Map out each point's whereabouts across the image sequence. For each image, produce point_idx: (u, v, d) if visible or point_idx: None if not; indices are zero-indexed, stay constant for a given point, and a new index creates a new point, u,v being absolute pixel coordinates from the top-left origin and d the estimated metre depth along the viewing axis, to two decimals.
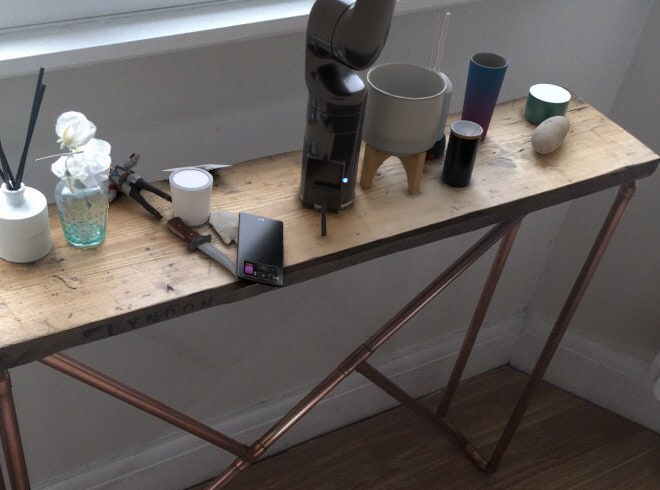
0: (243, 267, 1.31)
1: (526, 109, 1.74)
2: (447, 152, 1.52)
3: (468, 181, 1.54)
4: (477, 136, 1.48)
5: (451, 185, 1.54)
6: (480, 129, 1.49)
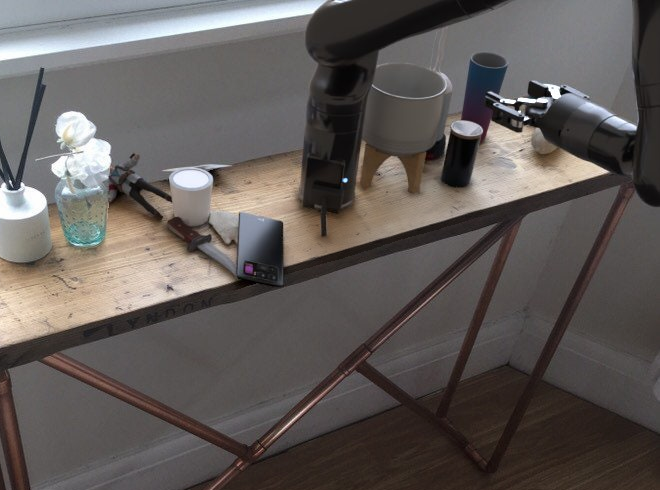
0: (243, 267, 1.31)
1: None
2: (447, 152, 1.52)
3: (468, 181, 1.54)
4: (477, 136, 1.48)
5: (451, 185, 1.54)
6: (480, 129, 1.49)
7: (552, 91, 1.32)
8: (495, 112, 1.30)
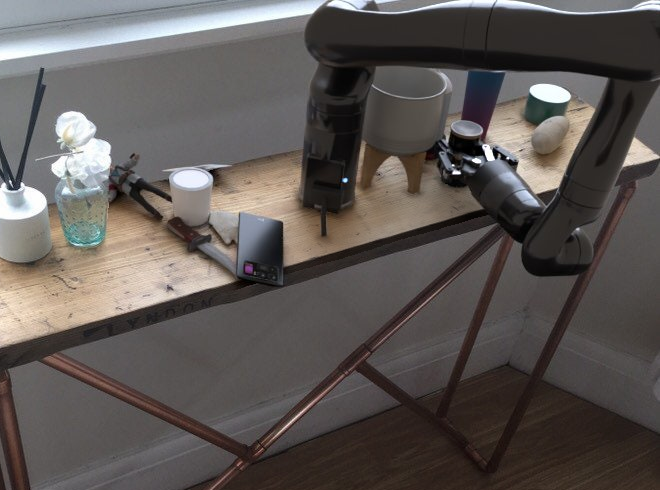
0: (243, 267, 1.31)
1: (526, 109, 1.74)
2: None
3: None
4: (477, 136, 1.48)
5: (451, 185, 1.54)
6: (480, 129, 1.49)
7: (486, 151, 1.48)
8: (439, 160, 1.48)
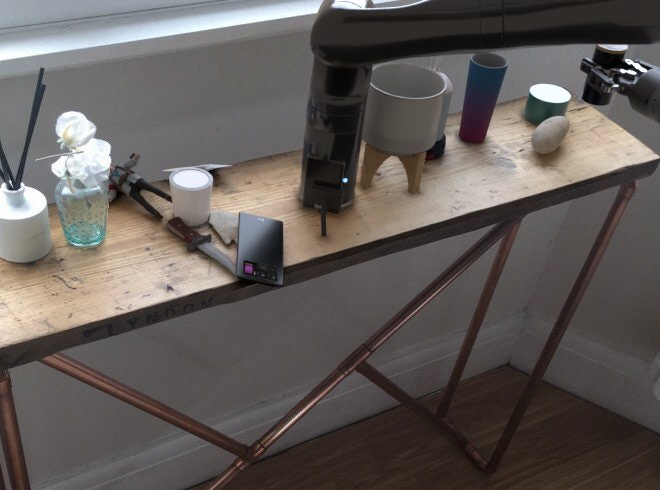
0: (243, 267, 1.31)
1: (526, 109, 1.74)
2: None
3: (610, 98, 1.58)
4: (625, 50, 1.51)
5: (595, 103, 1.57)
6: None
7: (634, 65, 1.52)
8: (592, 76, 1.51)
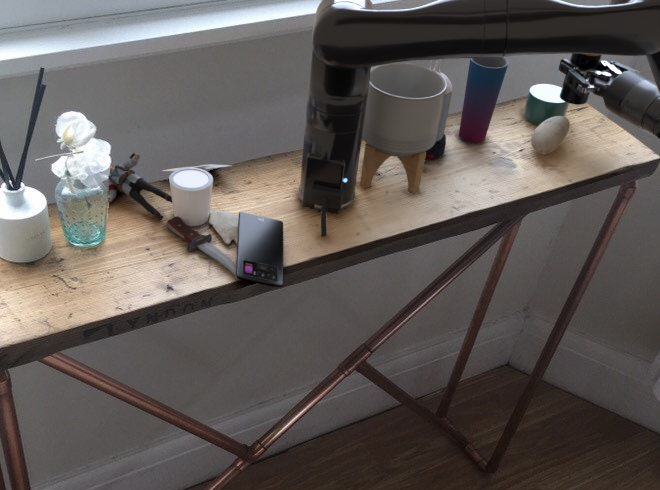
0: (243, 267, 1.31)
1: (526, 109, 1.74)
2: None
3: (587, 97, 1.66)
4: None
5: (573, 102, 1.65)
6: None
7: (609, 66, 1.60)
8: (570, 77, 1.59)
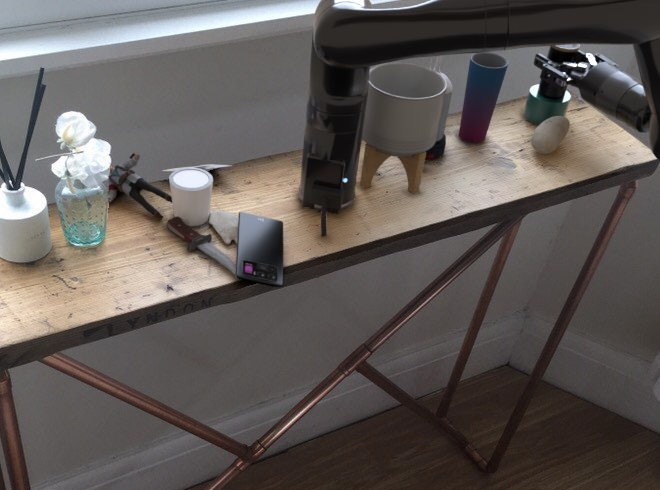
0: (243, 267, 1.31)
1: (526, 109, 1.74)
2: None
3: (564, 92, 1.71)
4: (577, 49, 1.64)
5: (550, 97, 1.70)
6: None
7: (589, 58, 1.65)
8: (544, 71, 1.62)
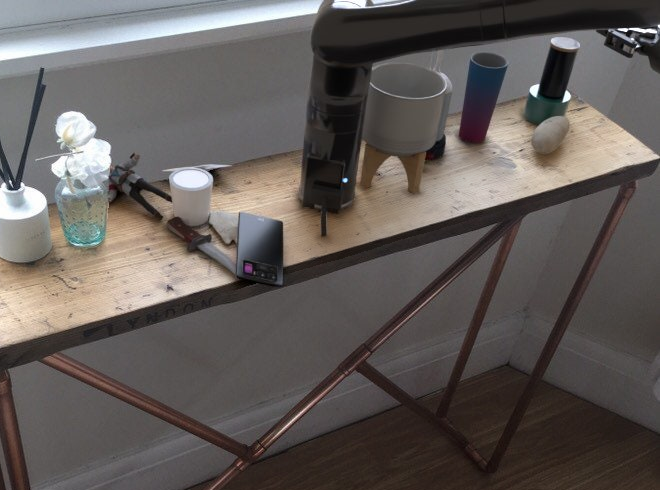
0: (243, 267, 1.31)
1: (526, 109, 1.74)
2: (547, 67, 1.68)
3: (564, 92, 1.71)
4: (577, 49, 1.64)
5: (550, 97, 1.70)
6: (577, 43, 1.66)
7: None
8: (609, 38, 1.48)
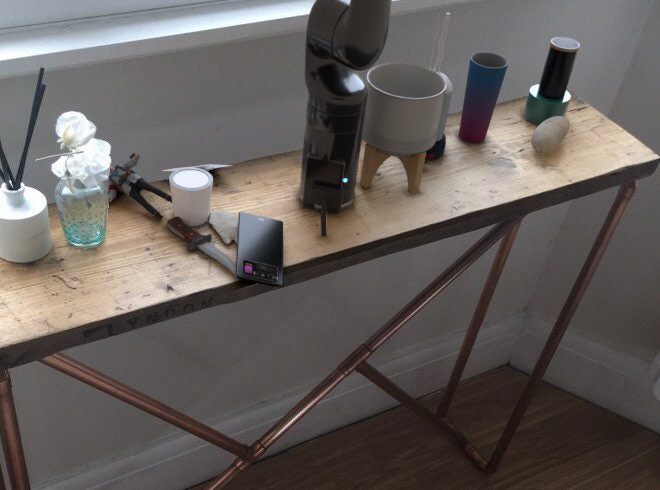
0: (243, 267, 1.31)
1: (526, 109, 1.74)
2: (547, 67, 1.68)
3: (564, 92, 1.71)
4: (577, 49, 1.64)
5: (550, 97, 1.70)
6: (577, 43, 1.66)
7: None
8: None
